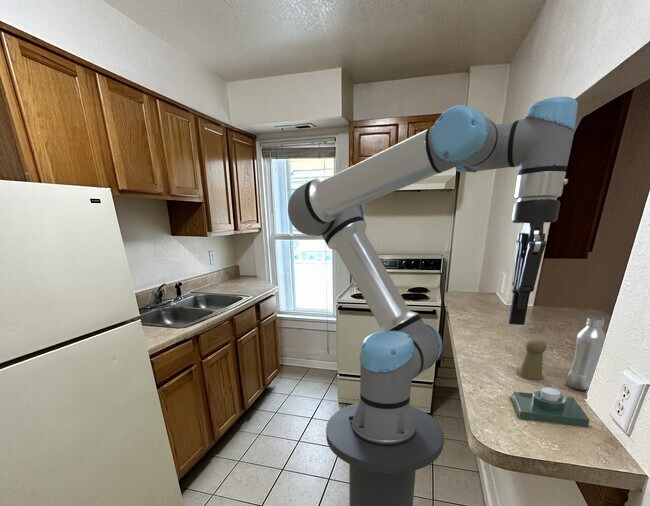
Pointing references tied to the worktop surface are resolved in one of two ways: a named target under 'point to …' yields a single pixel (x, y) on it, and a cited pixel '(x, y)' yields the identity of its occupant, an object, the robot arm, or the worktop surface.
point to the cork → (533, 360)
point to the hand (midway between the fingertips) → (516, 323)
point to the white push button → (550, 394)
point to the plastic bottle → (587, 353)
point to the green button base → (549, 409)
